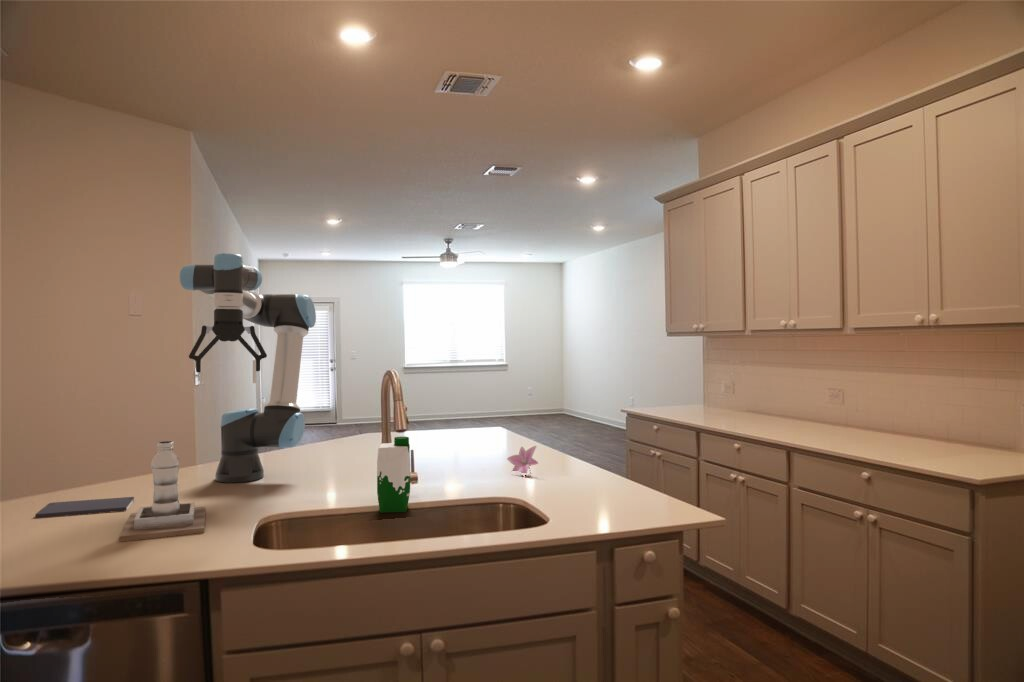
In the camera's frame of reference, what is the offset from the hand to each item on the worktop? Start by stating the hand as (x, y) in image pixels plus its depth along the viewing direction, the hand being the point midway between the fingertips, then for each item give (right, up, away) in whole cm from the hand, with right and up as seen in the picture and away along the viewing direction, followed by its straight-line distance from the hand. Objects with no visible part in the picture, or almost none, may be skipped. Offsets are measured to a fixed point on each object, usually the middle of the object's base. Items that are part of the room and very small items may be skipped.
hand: (228, 383), depth 189 cm
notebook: (-38, -35, -2) cm, 52 cm away
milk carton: (+47, -35, -3) cm, 59 cm away
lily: (+84, -35, +44) cm, 101 cm away
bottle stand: (-8, -35, -19) cm, 40 cm away
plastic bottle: (-8, -34, -18) cm, 39 cm away
